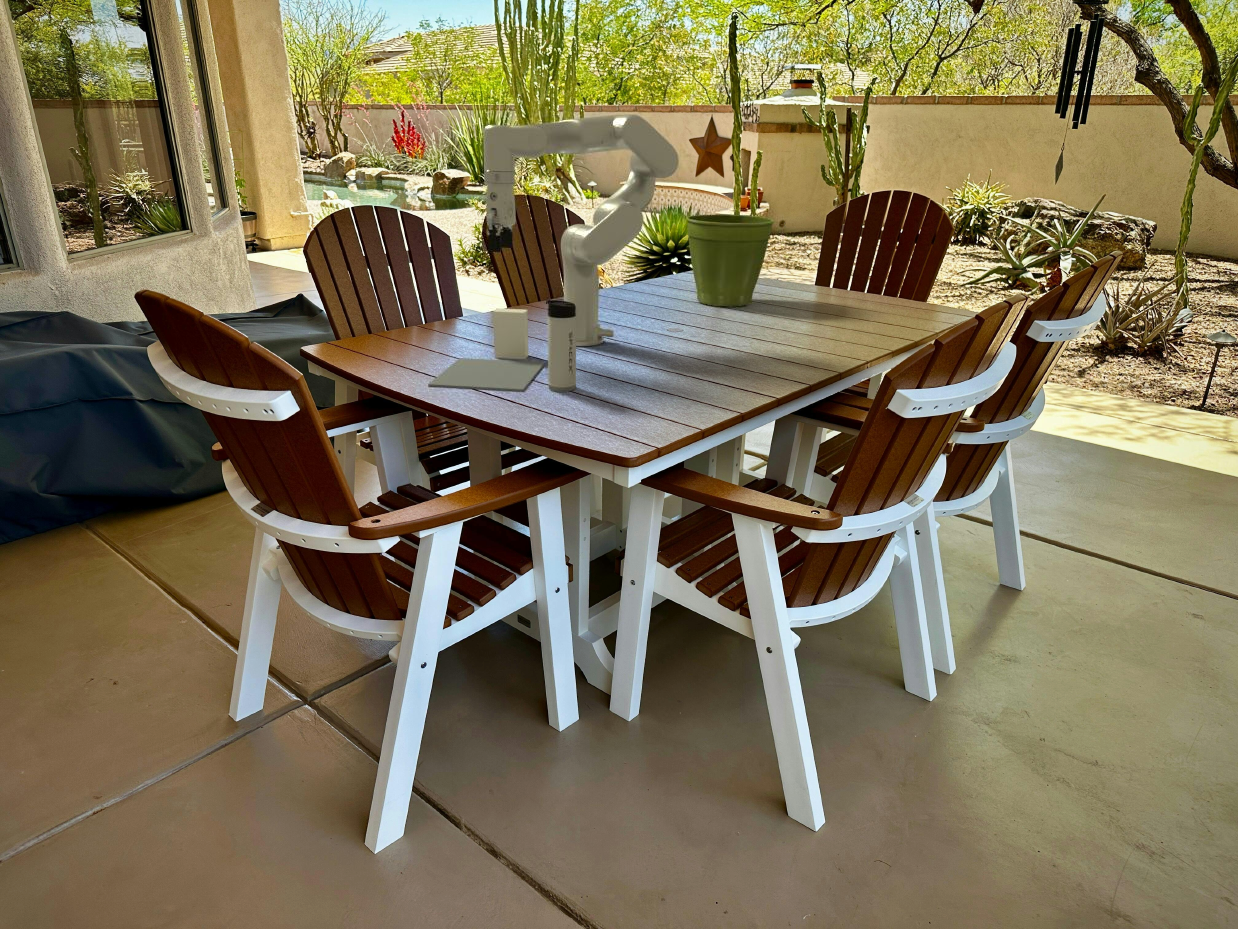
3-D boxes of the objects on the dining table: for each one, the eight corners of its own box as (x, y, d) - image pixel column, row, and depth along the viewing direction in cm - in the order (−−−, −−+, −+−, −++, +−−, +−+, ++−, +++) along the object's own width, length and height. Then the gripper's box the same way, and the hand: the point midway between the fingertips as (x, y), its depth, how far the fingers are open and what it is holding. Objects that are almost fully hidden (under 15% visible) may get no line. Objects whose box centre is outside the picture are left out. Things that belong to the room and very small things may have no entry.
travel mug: (547, 384, 187) (545, 297, 180) (575, 384, 188) (575, 297, 180) (547, 392, 181) (545, 303, 174) (576, 392, 182) (576, 303, 175)
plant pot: (684, 293, 301) (688, 213, 291) (765, 297, 298) (772, 216, 287) (679, 308, 274) (683, 220, 263) (768, 313, 270) (775, 223, 260)
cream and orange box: (528, 355, 212) (527, 309, 208) (525, 359, 208) (524, 312, 204) (498, 353, 213) (497, 308, 208) (494, 357, 209) (492, 311, 205)
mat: (544, 364, 204) (544, 362, 204) (523, 391, 182) (523, 389, 182) (459, 359, 206) (459, 357, 206) (428, 386, 184) (428, 384, 184)
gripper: (503, 180, 193) (504, 254, 199) (524, 178, 208) (524, 247, 215) (473, 179, 194) (475, 252, 200) (496, 177, 210) (497, 245, 216)
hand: (500, 249), depth 207 cm, fingers open, 9 cm apart
